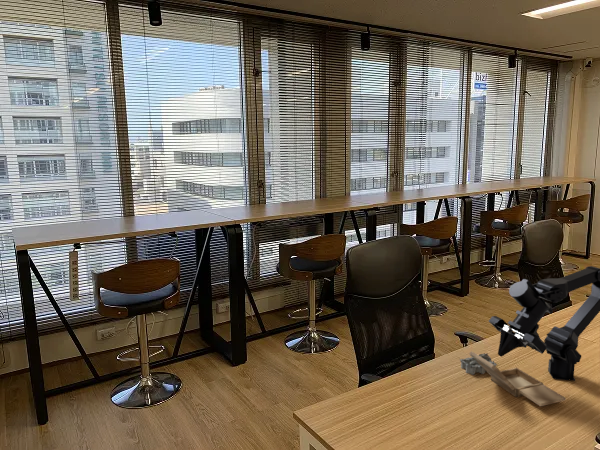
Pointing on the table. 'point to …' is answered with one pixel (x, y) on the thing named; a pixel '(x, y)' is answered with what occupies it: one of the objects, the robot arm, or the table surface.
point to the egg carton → (475, 364)
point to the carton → (528, 387)
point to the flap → (492, 370)
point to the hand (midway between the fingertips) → (499, 355)
